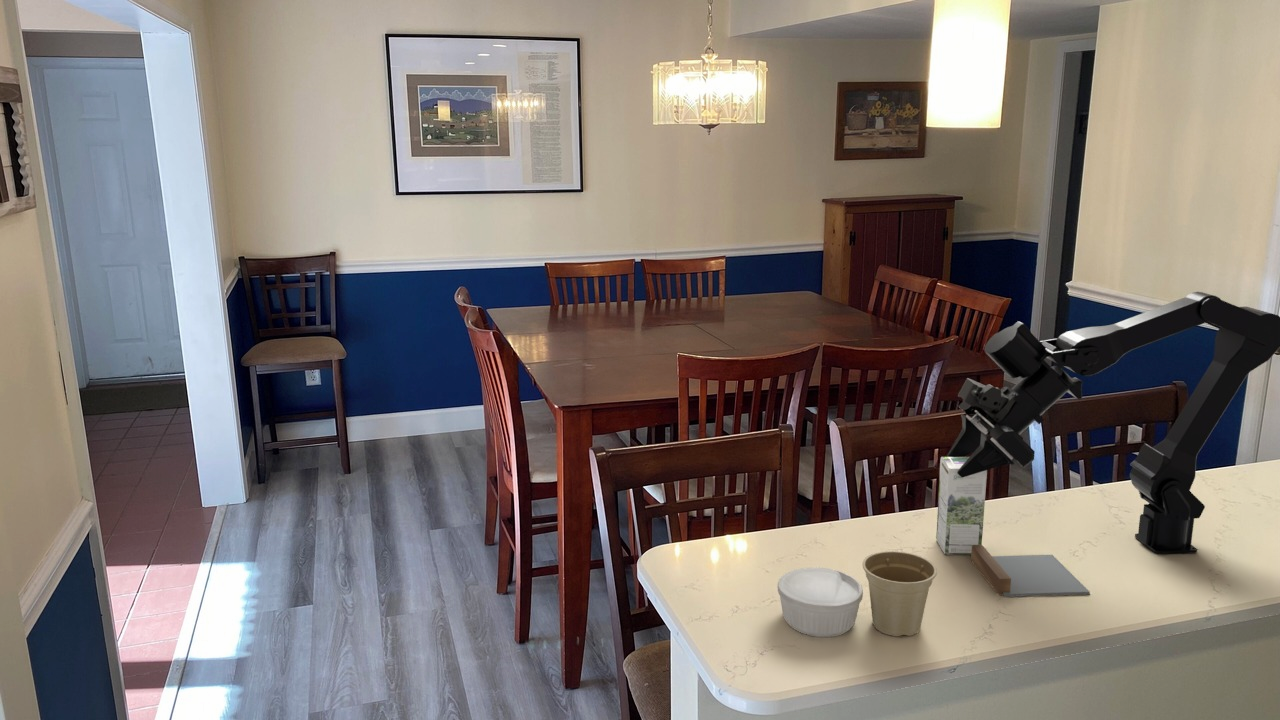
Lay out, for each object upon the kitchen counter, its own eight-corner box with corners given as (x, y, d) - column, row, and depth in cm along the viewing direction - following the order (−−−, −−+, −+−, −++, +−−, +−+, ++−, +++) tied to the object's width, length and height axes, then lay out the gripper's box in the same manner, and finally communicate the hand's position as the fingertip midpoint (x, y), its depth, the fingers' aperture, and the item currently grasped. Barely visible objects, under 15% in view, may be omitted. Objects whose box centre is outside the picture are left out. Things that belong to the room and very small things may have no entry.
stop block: (981, 560, 140) (982, 545, 139) (1009, 594, 129) (1011, 578, 128) (971, 560, 140) (971, 545, 139) (998, 595, 129) (999, 578, 128)
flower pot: (935, 613, 125) (937, 555, 123) (932, 649, 116) (935, 587, 114) (864, 604, 128) (866, 547, 126) (857, 638, 119) (859, 577, 117)
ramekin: (877, 634, 120) (878, 597, 119) (800, 649, 117) (800, 611, 116) (836, 595, 131) (837, 561, 129) (764, 608, 128) (764, 573, 126)
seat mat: (1052, 556, 140) (1052, 554, 140) (1089, 594, 128) (1089, 591, 128) (973, 559, 140) (974, 556, 140) (1004, 596, 129) (1004, 594, 128)
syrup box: (972, 540, 147) (976, 454, 143) (982, 556, 141) (987, 467, 138) (935, 540, 147) (939, 454, 144) (944, 556, 142) (948, 467, 138)
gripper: (974, 348, 146) (902, 416, 149) (1017, 377, 128) (934, 453, 131) (1021, 395, 148) (948, 460, 151) (1070, 430, 129) (987, 504, 132)
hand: (953, 468), depth 141 cm, fingers open, 6 cm apart
